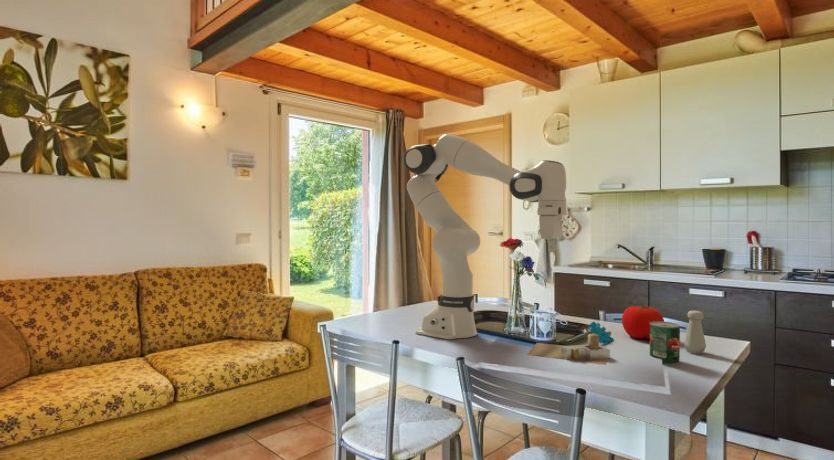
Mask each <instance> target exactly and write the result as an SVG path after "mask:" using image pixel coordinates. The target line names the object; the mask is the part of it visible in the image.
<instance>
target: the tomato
mask: <svg viewBox="0 0 834 460" xmlns="http://www.w3.org/2000/svg"><path fill="white" fill-rule="evenodd" d="M654 321H663V322H665V319H664V317H663V315H662V314H661V312H660V311H659V310H658V309H656V308H654V307H652V306H648V305H644V304H642V305H634V306H628V308H625V310H624V311H623V314H622V315H621V324H622V327H623V329H624V331H625V333H627V335H629V337H631V338H634V339H639V340H642V339H644V340H645V339H650V322H654Z"/></svg>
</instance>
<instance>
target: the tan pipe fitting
mask: <svg viewBox="0 0 834 460" xmlns="http://www.w3.org/2000/svg"><path fill="white" fill-rule="evenodd" d="M573 349H579V358H588V359H590V360H592V359H605V358H607V359H611V349H610V348H607V347H605V346H603V345H601V344H599V349H593V350H591V349H589V348H588V343H587V344H578V345H575V344H574V345H562V346H561V357H563V358H565V359H573Z"/></svg>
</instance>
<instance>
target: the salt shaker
mask: <svg viewBox="0 0 834 460" xmlns="http://www.w3.org/2000/svg"><path fill="white" fill-rule="evenodd" d="M687 318H688V319H689V320H688V321H689V322H688V325H687V329H686V330H687V331H686V335H685V338H684V347H685V349H686V351H687V353H690V354H691V355H692V354H693V355H702V354H703V353H704V352H705V349H706V347H707V345H706V339H705V334H704V329H703V325H702V320H703V319H704V312H702V311H699V310H689V311H688V312H687Z"/></svg>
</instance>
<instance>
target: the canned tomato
mask: <svg viewBox="0 0 834 460" xmlns="http://www.w3.org/2000/svg"><path fill="white" fill-rule="evenodd" d="M680 332H681V325H680V324H678V323H675V322H670V321H664V322H663V321H654V322H650V338H649V356H650V357H652V358H655V359H659V360H661V362H662V363H661V364H662V365H666V366H676V365H680V363H681V362H680V357H681V356H680V355H681V353H680V352H681V351H680V349H681V348H680V347H681V346H680V345H681V339H680V338H681V333H680Z"/></svg>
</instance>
